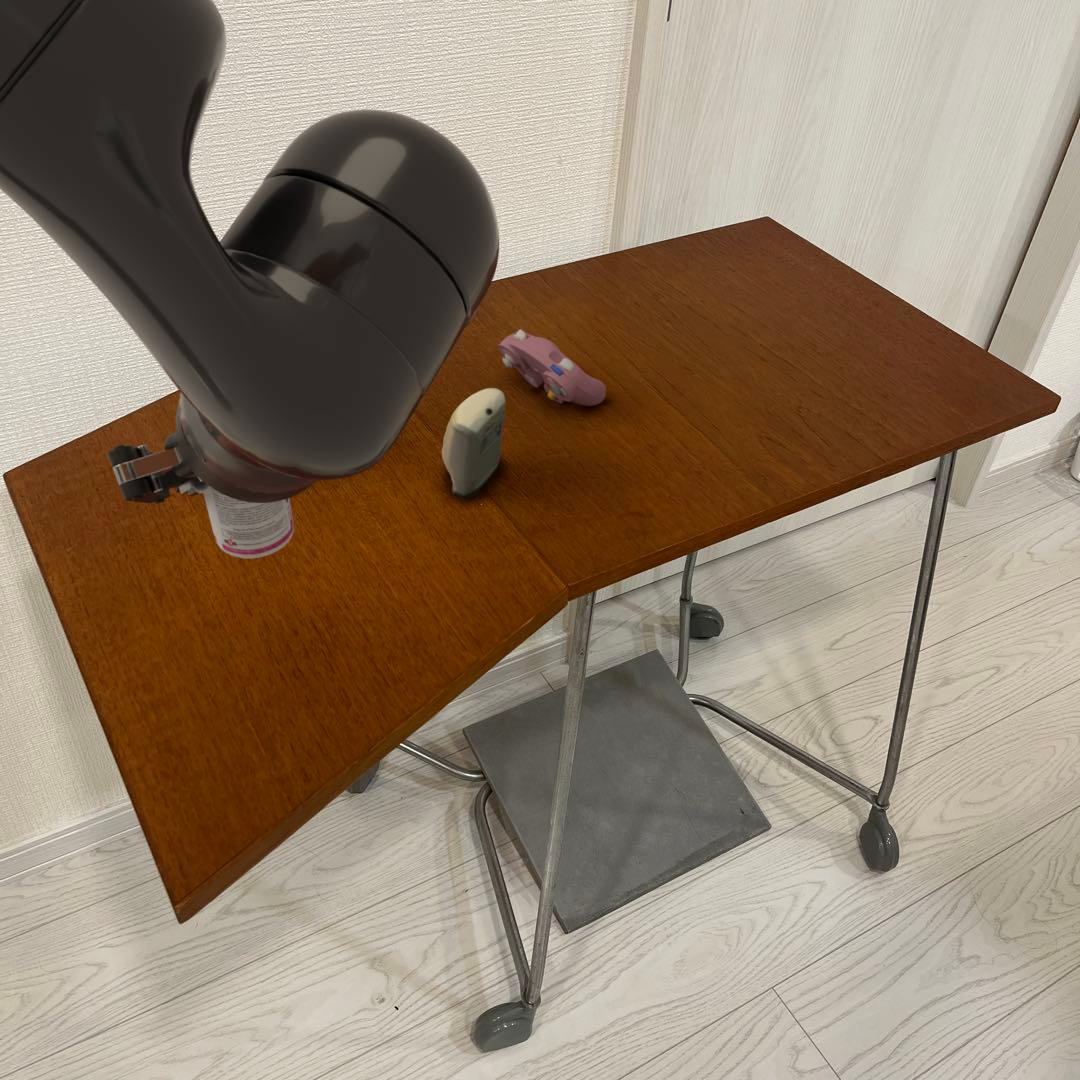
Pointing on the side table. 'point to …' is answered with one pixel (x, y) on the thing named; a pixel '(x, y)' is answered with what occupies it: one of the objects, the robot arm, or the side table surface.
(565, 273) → the side table surface
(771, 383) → the side table surface
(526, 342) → the video game controller
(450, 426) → the cream rounded block
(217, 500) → the pill bottle
